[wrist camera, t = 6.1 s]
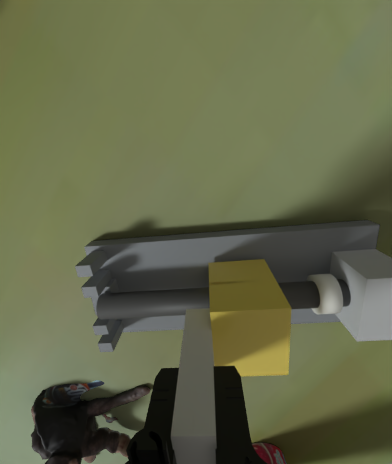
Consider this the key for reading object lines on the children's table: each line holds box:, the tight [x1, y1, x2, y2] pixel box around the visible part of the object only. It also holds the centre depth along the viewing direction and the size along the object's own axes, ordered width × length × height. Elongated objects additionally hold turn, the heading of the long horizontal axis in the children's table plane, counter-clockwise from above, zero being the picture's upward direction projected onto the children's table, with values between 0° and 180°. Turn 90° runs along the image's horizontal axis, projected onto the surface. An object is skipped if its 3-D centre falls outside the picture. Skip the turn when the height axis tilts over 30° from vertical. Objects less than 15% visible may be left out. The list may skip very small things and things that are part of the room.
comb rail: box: [75, 220, 392, 352], centre depth 16 cm, size 21×8×5 cm, turn 95°
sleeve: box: [208, 259, 291, 376], centre depth 15 cm, size 4×4×6 cm
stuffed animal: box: [31, 380, 150, 464], centre depth 25 cm, size 12×10×12 cm
